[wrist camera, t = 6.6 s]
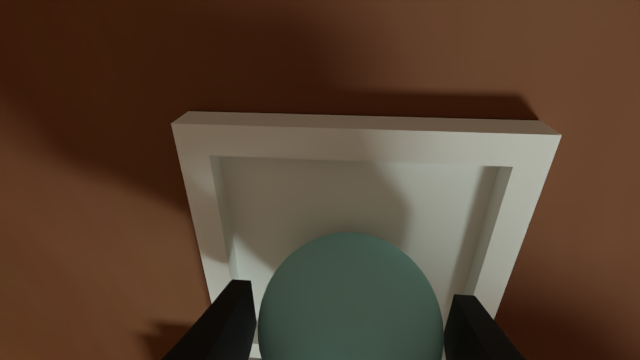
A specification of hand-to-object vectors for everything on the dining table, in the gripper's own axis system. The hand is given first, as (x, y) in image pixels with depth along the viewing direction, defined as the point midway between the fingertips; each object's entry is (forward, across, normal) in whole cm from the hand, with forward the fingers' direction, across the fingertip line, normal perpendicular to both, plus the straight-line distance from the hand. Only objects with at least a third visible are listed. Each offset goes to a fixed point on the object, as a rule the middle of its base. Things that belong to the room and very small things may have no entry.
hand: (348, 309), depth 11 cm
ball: (+2, 0, 0) cm, 2 cm away
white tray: (+3, 0, 0) cm, 3 cm away
